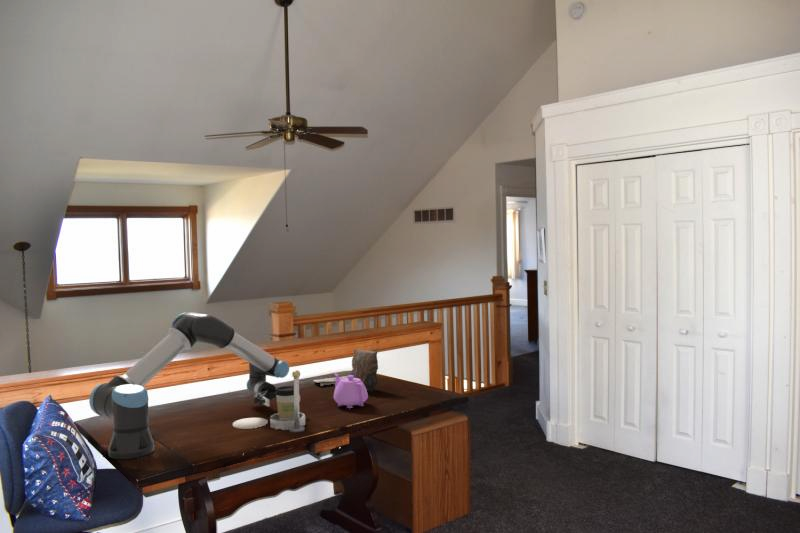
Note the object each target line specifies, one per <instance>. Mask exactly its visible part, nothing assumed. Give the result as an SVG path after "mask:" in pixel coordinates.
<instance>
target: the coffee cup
mask: <svg viewBox="0 0 800 533" xmlns="http://www.w3.org/2000/svg"><path fill="white" fill-rule="evenodd" d="M276 389H277V390H276V392H275V394H276V397H277V398H276V408H277V413H278V415H279V420H283V421H285V420H294V385H285V386H279V387H276Z"/></svg>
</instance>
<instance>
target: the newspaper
mask: <svg viewBox="0 0 800 533" xmlns="http://www.w3.org/2000/svg"><path fill="white" fill-rule="evenodd" d="M347 376H348V375H343V376H339V377H340V380H341V379H344V378H347ZM314 382H317V383H320V384H319V385H320V387H325V386H324V385H327V386H331V384H333V385H335V384H336V377H329V378H328V377H326V378H320V379H314V380H312V381H311V383H312V384H315V383H314Z"/></svg>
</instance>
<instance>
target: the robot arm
mask: <svg viewBox="0 0 800 533" xmlns="http://www.w3.org/2000/svg"><path fill="white" fill-rule="evenodd" d="M171 322H172V323H171V326H170V328H169V329H168V330H167V331H168V334H167V335H166V336H165V337H164V338H163V339H161V341H159V342H158V343H157V344H156V345H155V346H154V347H153V348H151V349H150V350H149V351H148V352H147V353H146V354H145V355H144V356H143V357H141V358H140V359H139V360H138V361H137V362H136V363H134V365H132V366H131V367H130V368H129V369H128V370H127V371H126V372H125V373H123V375H121V374H119V375H115V376H114V377H113V378H112V379H111V380H109V381H108V382H103V383H100V384H98V385H95V387H94V388H93V390H92V391H91V393H90V395H89V402H88V403H89V406H90V409H91V410H92V412H93V413H95V414H96V415H98V416H99V417H103V418H108V419H110V420H112V436H111V440H110V442H109V446H108V450H107V451H108V452H107V453H108V454H107V455H108V457H109V458H111V459H115V460H130V459H131V460H132V459H137V458H141V457H145V456H148V455H150V454H151V453H153V452H154V451H155V441H154V439H153V437H152V433H151V431H150V426H149V396H148V393H149V392H148V390H147V387H145V386H146V385H147V384H148V383H149V382H150V381H151V380H152V379H154V377H156V376H157V375H158V374H159V373H160V372H161V371H162V370H163V369H165V368H166V367H167V366H168V364H170V363H171V362H172V361H173V360H174V359H176V357H177V356H178V355H179V354H181V353H182V352H183V351H184V350H186V351H189V350H190V349H191V348H192V347H194V346H195V345H196V344H197V343H203V344H208V345H209V344H210V345H212V346H216V347H217V348H219V349H226V350H228V351H229V352H230V353H232V354H234V355H235V356H238V358H241V359H242V360H245V361H246V362H248V370H249V371H248V372H249V378H248V379H247V382H246V389H247V390H248V391H249V392H250V394H252V395H254V396H253V404H257V403H258V405H259V406H261V405H262V404H263V405H264V406H266V407H270V406H271V405H270V401H272V400H273V399H277V397H276V394H275V392H276V390H277V387H276V386H275V385H274V384H273V383H270V382H268V381H267V376H268V377H269V376H270V377H274V378H280V379H283V378H285V377H286V376H288V374H289V372H290V364H289V363H288V361H285V360H283V359H278V358H276V357H275V356H273V355H271V354H270V353H269V352H267V351H265V350H264V349H262V348H260V347H259V346H257V345H256V344H255V343H253V342H251V341H250V340H248V339H246V338H244V336H242V335H240V334H239V333H237V332H236V331H235V329H234V328H233V327H232V326H230V324H228V323H226V322H225V321H224V320H221V319H220V318H218V317H216V316H214V315H212V314H208V313H199V312H195V311H194V312H193V311H188V312H183V313H180V314H177V315H176V316H175V318H174V319H172V321H171ZM300 402H301V395H300V394H299V403H300Z"/></svg>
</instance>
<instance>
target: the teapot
mask: <svg viewBox="0 0 800 533" xmlns="http://www.w3.org/2000/svg"><path fill="white" fill-rule="evenodd" d="M333 375H334V376H335V377H336V384H334V387H335V388H334V391H333V399H334V400H333V401H335V403H337V407H343V406H346V409H347V408H349V409H348V410H351V409H350V408H353V409H354V406H358V407H364V406H365V405H364V403H366V401H367V400H368V398H369V394H368V393H369V392H367V389H366V387H365V385H364V384H363V382H362V381H361V380H360V379H359V378H354V376H353V375H351V374H349V375H346V376H347V378H344V379H341V380H340V377H341V376H340V375H339V374H338V373H336V372H333Z"/></svg>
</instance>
